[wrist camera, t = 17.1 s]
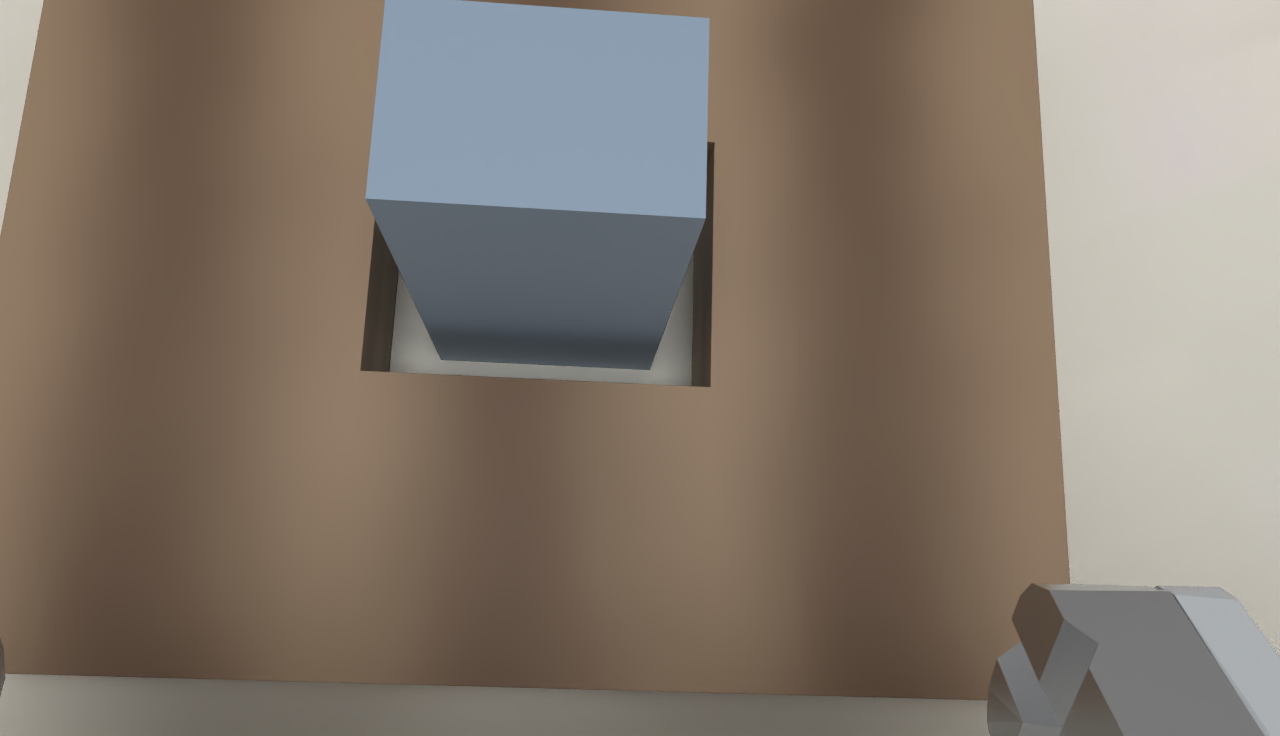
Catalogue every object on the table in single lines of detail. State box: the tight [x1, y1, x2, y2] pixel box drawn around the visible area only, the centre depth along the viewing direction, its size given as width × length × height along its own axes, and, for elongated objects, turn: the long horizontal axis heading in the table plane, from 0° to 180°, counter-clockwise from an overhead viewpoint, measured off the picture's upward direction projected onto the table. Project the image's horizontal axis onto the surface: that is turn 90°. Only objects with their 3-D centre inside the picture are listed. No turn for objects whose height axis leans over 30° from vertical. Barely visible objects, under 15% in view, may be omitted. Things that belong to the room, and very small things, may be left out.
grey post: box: [365, 0, 710, 370], centre depth 18 cm, size 4×3×9 cm, turn 88°
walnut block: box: [0, 0, 1070, 700], centre depth 21 cm, size 20×16×3 cm
